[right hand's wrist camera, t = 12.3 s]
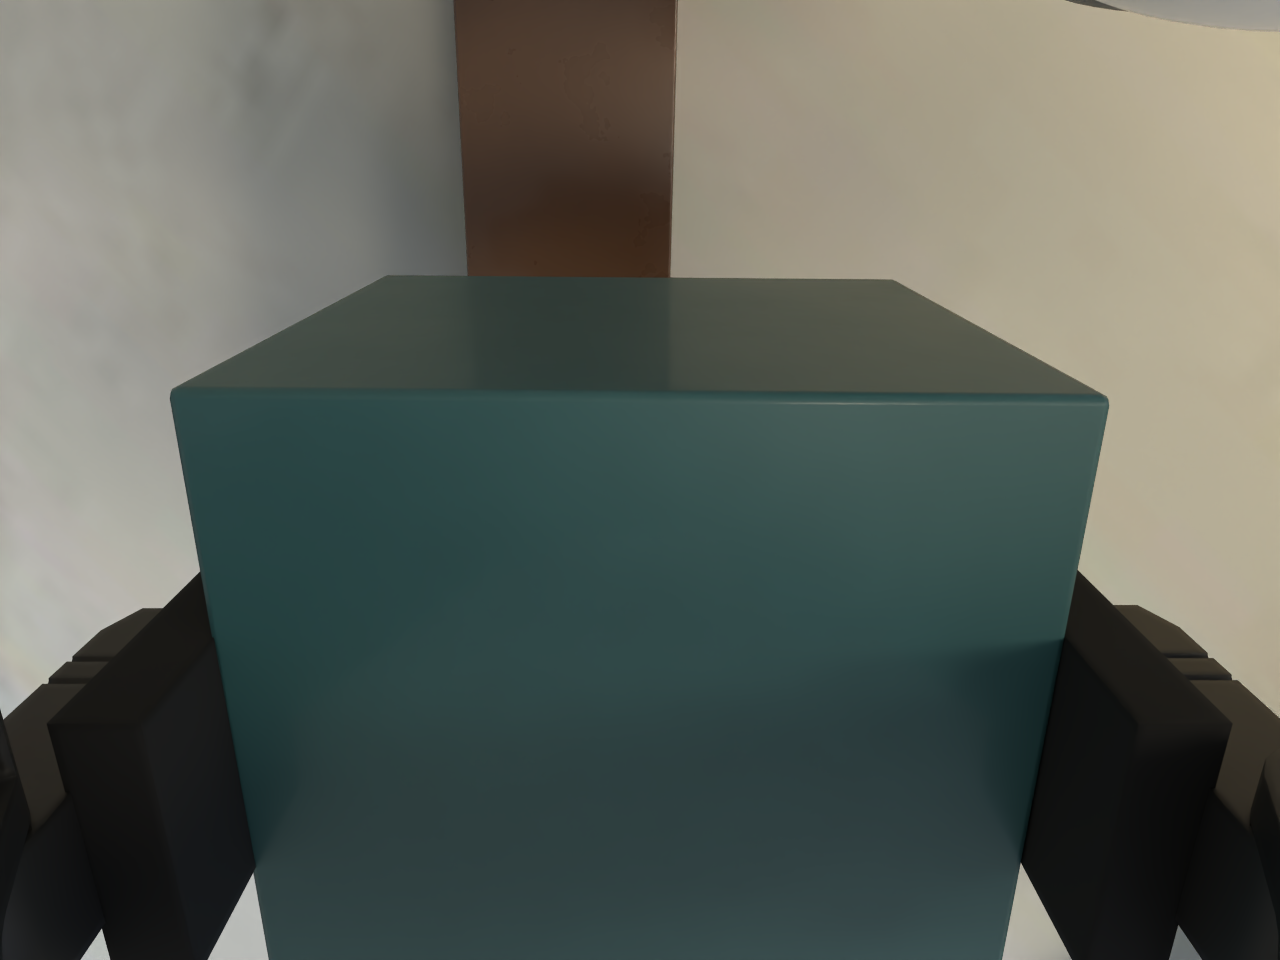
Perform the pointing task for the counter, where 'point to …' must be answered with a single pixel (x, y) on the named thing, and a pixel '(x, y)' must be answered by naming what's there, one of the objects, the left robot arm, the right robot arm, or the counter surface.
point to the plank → (567, 136)
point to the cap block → (637, 616)
